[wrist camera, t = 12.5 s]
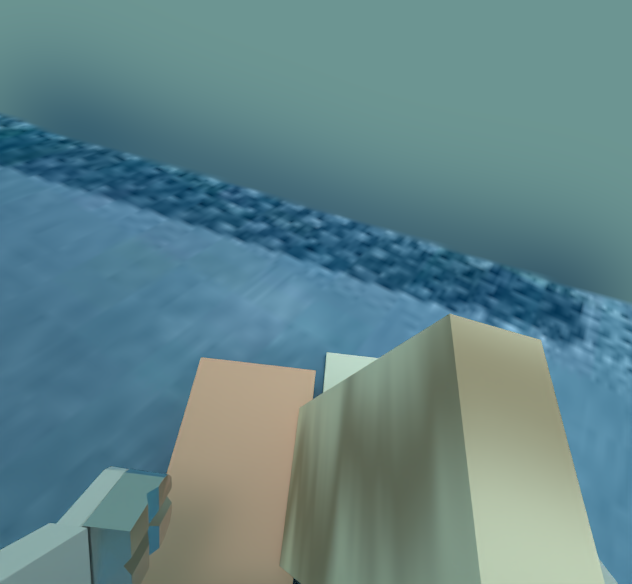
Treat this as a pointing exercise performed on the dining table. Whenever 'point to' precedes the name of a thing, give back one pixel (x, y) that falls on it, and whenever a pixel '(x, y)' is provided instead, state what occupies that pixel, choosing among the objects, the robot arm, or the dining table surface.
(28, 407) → the dining table surface
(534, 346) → the birch block
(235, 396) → the terracotta step
